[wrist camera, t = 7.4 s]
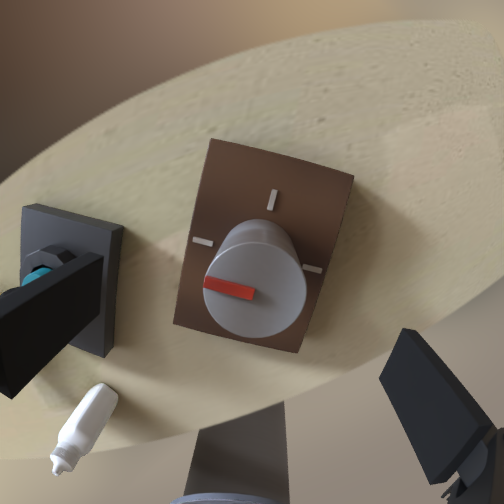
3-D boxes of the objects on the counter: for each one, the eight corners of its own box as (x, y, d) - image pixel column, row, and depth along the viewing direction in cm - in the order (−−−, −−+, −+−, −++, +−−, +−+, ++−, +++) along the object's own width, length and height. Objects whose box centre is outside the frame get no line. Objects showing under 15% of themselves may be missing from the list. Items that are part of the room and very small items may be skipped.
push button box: (113, 346, 27) (96, 369, 23) (35, 315, 27) (13, 331, 23) (124, 225, 24) (101, 235, 20) (36, 203, 24) (9, 209, 20)
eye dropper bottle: (75, 385, 29) (23, 454, 17) (111, 380, 28) (59, 460, 17) (94, 413, 30) (51, 484, 18) (130, 411, 29) (90, 492, 18)
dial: (303, 230, 21) (321, 259, 14) (282, 296, 22) (289, 351, 15) (231, 210, 21) (214, 231, 14) (214, 278, 22) (193, 327, 15)
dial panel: (295, 338, 26) (298, 355, 24) (180, 310, 26) (172, 325, 23) (345, 175, 23) (355, 175, 20) (215, 141, 22) (209, 137, 20)
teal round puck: (68, 318, 23) (57, 327, 21) (34, 303, 23) (22, 311, 21) (68, 274, 22) (56, 281, 20) (33, 261, 22) (20, 267, 20)
